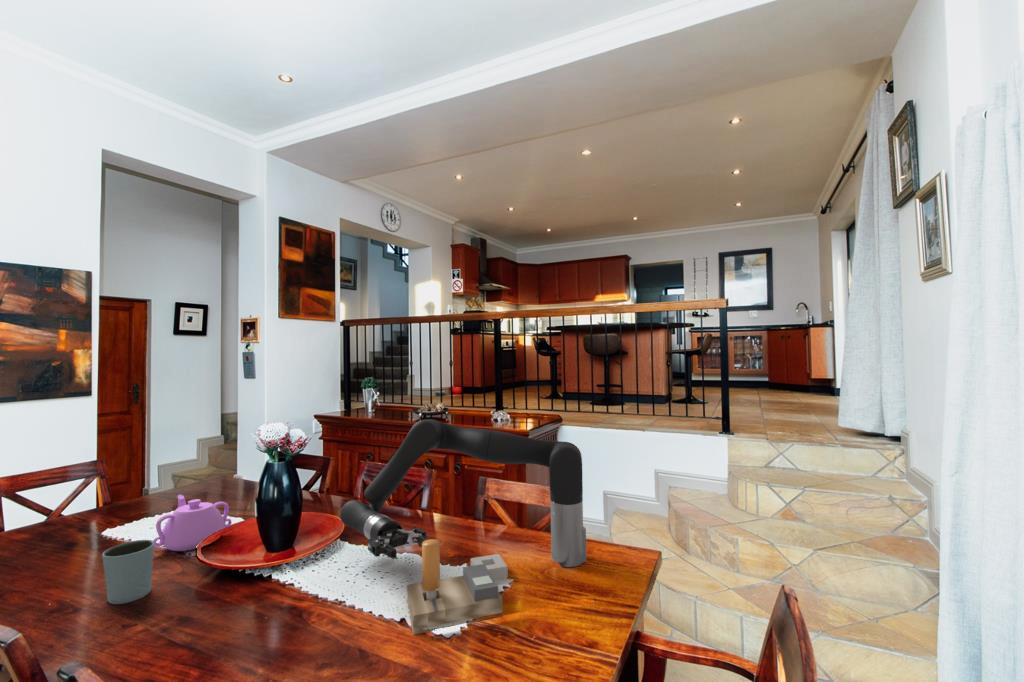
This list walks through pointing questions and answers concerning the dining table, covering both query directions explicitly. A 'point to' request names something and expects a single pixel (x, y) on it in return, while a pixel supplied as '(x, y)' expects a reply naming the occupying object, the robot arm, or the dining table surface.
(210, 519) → the teapot
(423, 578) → the awl
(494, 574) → the awl stand
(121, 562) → the grey cup
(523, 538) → the dining table surface
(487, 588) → the block
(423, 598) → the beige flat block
